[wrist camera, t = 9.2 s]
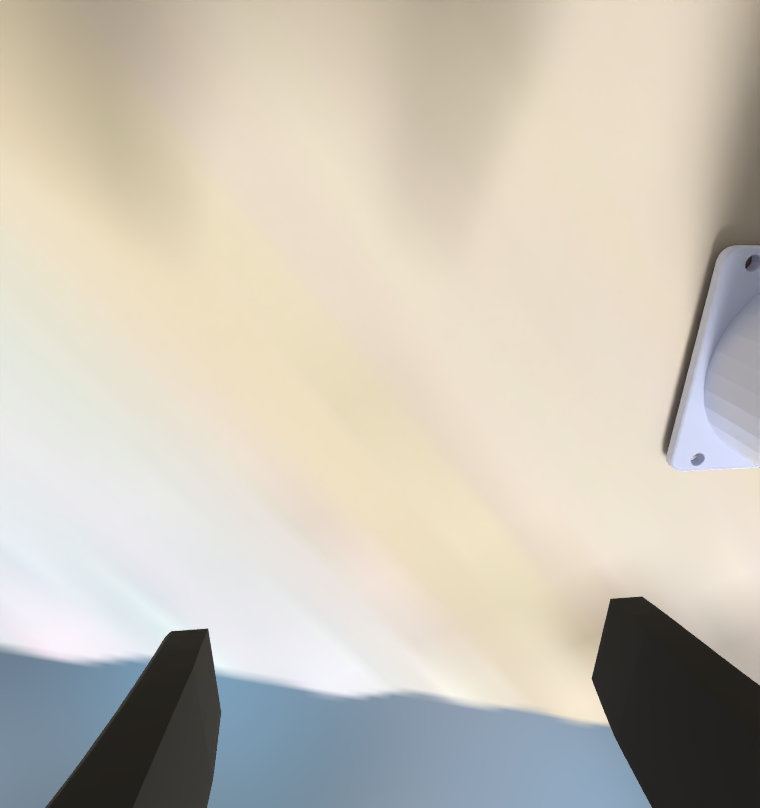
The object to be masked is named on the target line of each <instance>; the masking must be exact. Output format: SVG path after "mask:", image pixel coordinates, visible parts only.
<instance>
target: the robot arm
mask: <svg viewBox="0 0 760 808" xmlns="http://www.w3.org/2000/svg"><path fill="white" fill-rule="evenodd" d="M750 256H752V262H751V264H750V266H748V267H747V268H745V263H746V261H747V259H748V258H749V257H750ZM695 454H697V456H696V458H694V459H693V460H691V459H692V457H693V456H694V455H695ZM666 461H667V463H668V465H670V466H671V467H672V468H673V469H675V470H676V471H699V470H719V469H740V468H760V245H734V246H729V247H727V248H726V249H724V250H723V251H722V252H721V253H720V254H719V256H718V258H717V261H716V264H715V268H714V271H713V275H712V279H711V283H710V287H709V291H708V295H707V299H706V303H705V307H704V311H703V315H702V319H701V322H700V326H699V330H698V334H697V338H696V342H695V346H694V350H693V354H692V358H691V362H690V366H689V370H688V374H687V377H686V381H685V385H684V389H683V393H682V397H681V401H680V405H679V409H678V413H677V417H676V421H675V425H674V428H673V432H672V436H671V440H670V444H669V448H668V452H667V456H666ZM592 681H593V684H594V686H595V689H596V691H597V694H598V696H599V699H600V702H601V704H602V707H603V709H604V712H605V714H606V717H607V719H608V722H609V724H610V726H611V729H612V731H613V733H614V736H615V738H616V740H617V742H618V744H619V746H620V748H621V750H622V752H623V754H624V756H625V758H626V759H627V761H628V763H629V765H630V767H631V769H632V771H633V773H634V774H635V776H636V778H637V780H638V782H639V784H640V786H641V788H642V790H643V792H644V793H645V795H646V797H647V799H648V801H649V803H650V804H651V806H652V808H760V685H758V684H757V683H756V682H754V681H753V680H751V679H750V678H749V677H747V676H746V675H745V674H743V673H742V672H741V671H739V670H738V669H737V668H736V667H734V666H733V665H732V664H730V663H729V662H728V661H726V660H725V659H724V658H722V657H721V656H720V655H718V654H717V653H716V652H715V651H713V650H712V649H711V648H709V647H708V646H707V645H705V644H704V643H703V642H702V641H700V640H699V639H698V638H696V637H695V636H694V635H692V634H691V633H690V632H689V631H687V630H686V629H685V628H683V627H682V626H681V625H679V624H678V623H677V622H676V621H674V620H673V619H672V618H670V617H669V616H668V615H666V614H665V613H664V612H662V611H661V610H660V609H658V608H657V607H656V606H654V605H653V604H652V603H650V602H649V601H647V600H646V599H645V598H643V597H630V598H617V599H610V603H609V608H608V612H607V616H606V620H605V625H604V629H603V633H602V637H601V642H600V646H599V650H598V654H597V659H596V663H595V667H594V671H593V675H592ZM220 717H221V709H220V702H219V696H218V689H217V684H216V676H215V670H214V663H213V657H212V650H211V644H210V637H209V631H208V629H197V630H183V631H171V632H170V633H169V634H168V635H167V636H166V637H165V638H164V640H163V641H162V643H161V645H160V646H159V648H158V649H157V651H156V653H155V654H154V656H153V657H152V659H151V660H150V662H149V664H148V665H147V667H146V668H145V670H144V671H143V673H142V674H141V676H140V677H139V679H138V681H137V682H136V684H135V685H134V687H133V688H132V690H131V691H130V692H129V694H128V696H127V697H126V698H125V700H124V701H123V703H122V704H121V706H120V707H119V709H118V710H117V712H116V713H115V715H114V716H113V717H112V719H111V720H110V722H109V723H108V724H107V726H106V727H105V728H104V730H103V731H102V733H101V734H100V736H99V737H98V738H97V740H96V741H95V742H94V744H93V745H92V747H91V748H90V750H89V751H88V752H87V754H86V755H85V756H84V758H83V759H82V761H81V762H80V763H79V765H78V766H77V767H76V769H75V770H74V771H73V773H72V774H71V775H70V777H69V778H68V779H67V781H66V782H65V783H64V784H63V786H62V787H61V788H60V790H59V791H58V792H57V793H56V795H55V796H54V797H53V799H52V800H51V801H50V802H49V804H48V805H47V806H46V808H207V804H208V800H209V795H210V790H211V786H212V781H213V774H214V767H215V759H216V751H217V742H218V734H219V726H220Z"/></svg>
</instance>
